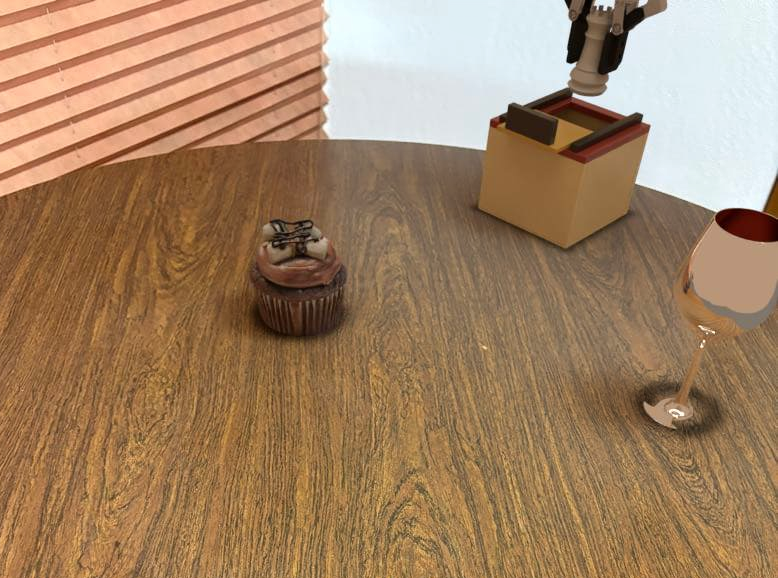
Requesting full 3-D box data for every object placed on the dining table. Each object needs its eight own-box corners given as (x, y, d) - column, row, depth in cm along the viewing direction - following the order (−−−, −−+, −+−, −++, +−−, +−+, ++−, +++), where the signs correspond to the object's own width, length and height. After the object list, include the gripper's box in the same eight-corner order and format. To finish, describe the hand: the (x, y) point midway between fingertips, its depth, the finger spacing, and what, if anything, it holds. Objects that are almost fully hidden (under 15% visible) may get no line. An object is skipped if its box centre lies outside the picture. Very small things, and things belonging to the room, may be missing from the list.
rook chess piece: (614, 93, 95) (634, 12, 89) (585, 100, 93) (603, 18, 88) (586, 80, 98) (603, -1, 92) (557, 86, 96) (573, 5, 90)
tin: (540, 179, 111) (558, 83, 102) (626, 216, 105) (653, 117, 97) (477, 211, 104) (491, 111, 96) (564, 251, 98) (587, 149, 90)
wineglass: (624, 422, 77) (691, 234, 64) (640, 374, 83) (704, 191, 70) (716, 449, 76) (803, 261, 63) (726, 398, 81) (808, 215, 68)
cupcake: (360, 335, 85) (364, 241, 78) (266, 351, 83) (260, 255, 75) (330, 285, 91) (331, 193, 84) (241, 299, 89) (234, 206, 81)
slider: (534, 113, 98) (539, 85, 96) (593, 136, 94) (599, 107, 92) (496, 130, 94) (500, 101, 92) (555, 154, 91) (561, 124, 88)
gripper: (736, -135, 79) (675, 80, 92) (586, -165, 86) (550, 38, 99) (695, -125, 75) (637, 97, 88) (542, -158, 82) (510, 52, 96)
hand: (591, 64), depth 94 cm, fingers closed on rook chess piece, 3 cm apart
